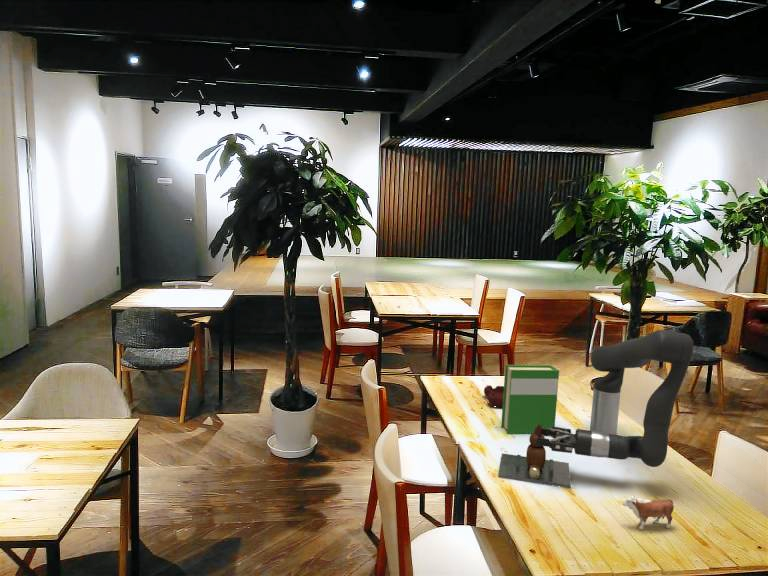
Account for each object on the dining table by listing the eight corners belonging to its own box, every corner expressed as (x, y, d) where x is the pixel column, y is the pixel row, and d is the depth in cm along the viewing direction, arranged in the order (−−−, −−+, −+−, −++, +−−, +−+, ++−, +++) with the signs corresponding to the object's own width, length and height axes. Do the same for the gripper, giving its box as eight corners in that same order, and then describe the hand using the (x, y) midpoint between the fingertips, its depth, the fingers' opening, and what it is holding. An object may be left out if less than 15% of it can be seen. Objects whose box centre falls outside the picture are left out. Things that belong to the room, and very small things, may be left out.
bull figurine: (618, 521, 151) (621, 492, 150) (667, 521, 152) (670, 492, 151) (627, 531, 147) (630, 501, 146) (676, 530, 148) (680, 500, 147)
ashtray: (528, 411, 235) (529, 399, 235) (488, 409, 236) (489, 397, 235) (519, 397, 253) (520, 386, 253) (482, 395, 253) (483, 384, 253)
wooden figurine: (545, 474, 175) (549, 427, 173) (525, 471, 176) (529, 425, 174) (543, 464, 182) (547, 419, 180) (525, 462, 183) (528, 417, 181)
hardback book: (507, 434, 209) (512, 370, 206) (501, 426, 216) (505, 364, 213) (554, 434, 211) (559, 370, 208) (546, 426, 218) (551, 365, 215)
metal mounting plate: (501, 456, 190) (502, 444, 189) (568, 465, 184) (569, 454, 184) (498, 477, 174) (499, 464, 174) (570, 488, 169) (571, 475, 168)
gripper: (591, 423, 180) (537, 416, 184) (594, 440, 166) (536, 432, 171) (589, 446, 181) (535, 439, 185) (592, 465, 167) (535, 456, 172)
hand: (536, 436), depth 178 cm, fingers open, 8 cm apart
